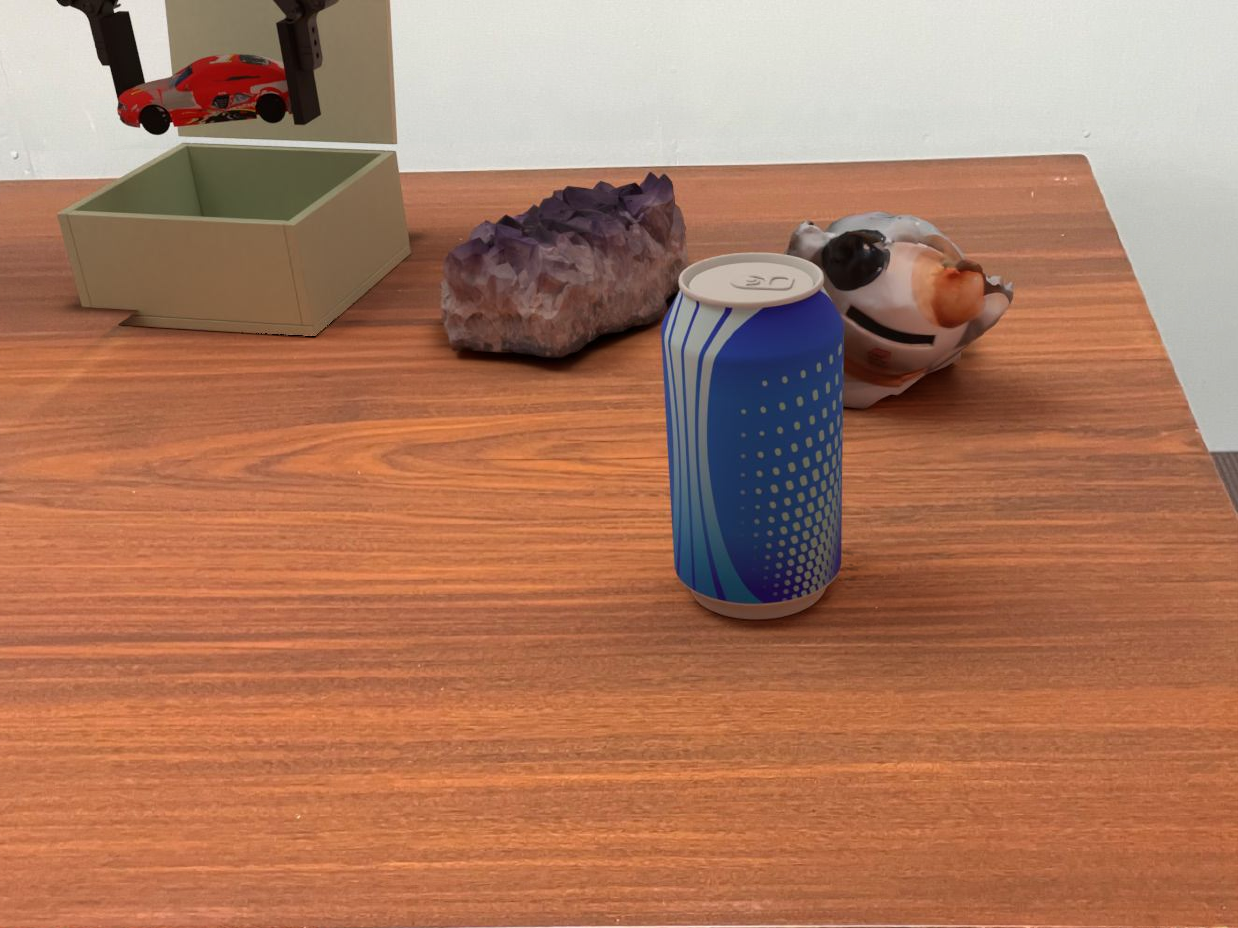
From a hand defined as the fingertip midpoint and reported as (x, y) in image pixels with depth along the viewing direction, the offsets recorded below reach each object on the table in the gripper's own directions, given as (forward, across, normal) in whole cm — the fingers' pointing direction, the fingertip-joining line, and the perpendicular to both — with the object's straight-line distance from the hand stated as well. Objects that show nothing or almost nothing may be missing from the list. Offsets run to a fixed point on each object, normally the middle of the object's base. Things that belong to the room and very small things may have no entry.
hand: (221, 117), depth 113 cm
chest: (+12, 0, 0) cm, 12 cm away
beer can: (+12, -46, +37) cm, 60 cm away
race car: (0, 0, 0) cm, 0 cm away
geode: (+12, -26, +3) cm, 29 cm away
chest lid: (-5, 0, -11) cm, 12 cm away
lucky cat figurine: (+12, -48, +10) cm, 50 cm away
